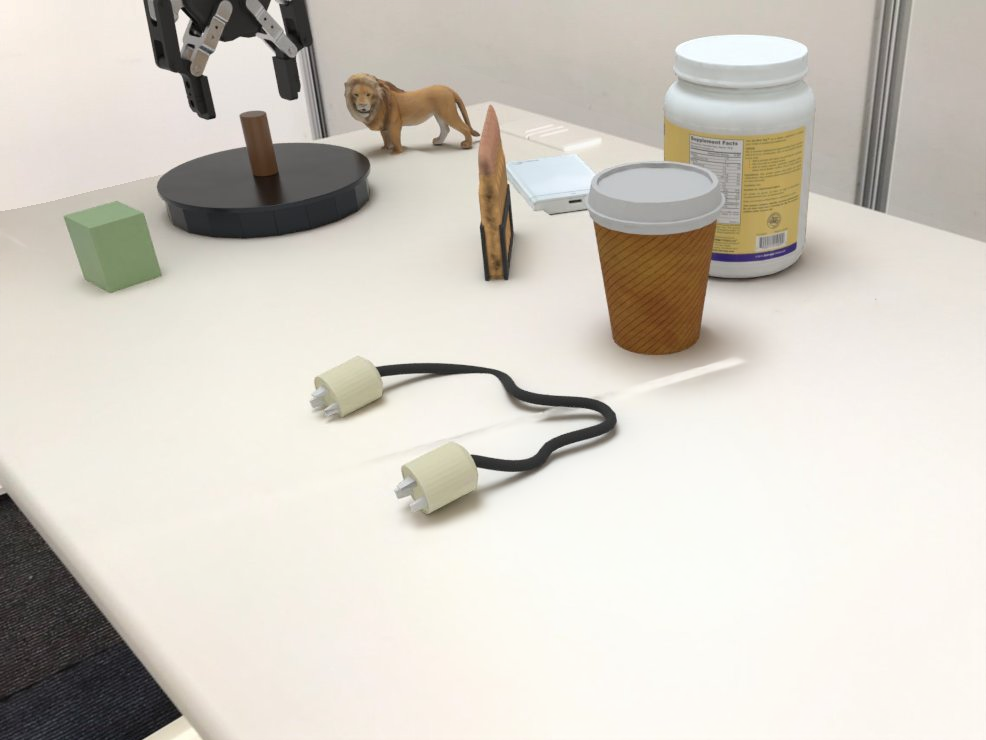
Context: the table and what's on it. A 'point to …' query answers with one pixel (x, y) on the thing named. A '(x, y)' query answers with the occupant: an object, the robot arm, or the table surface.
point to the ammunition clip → (494, 202)
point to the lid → (263, 174)
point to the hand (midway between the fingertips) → (249, 108)
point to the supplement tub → (747, 143)
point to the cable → (451, 463)
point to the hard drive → (552, 182)
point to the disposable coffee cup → (655, 250)
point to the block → (113, 246)
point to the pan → (271, 217)
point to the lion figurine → (404, 109)
